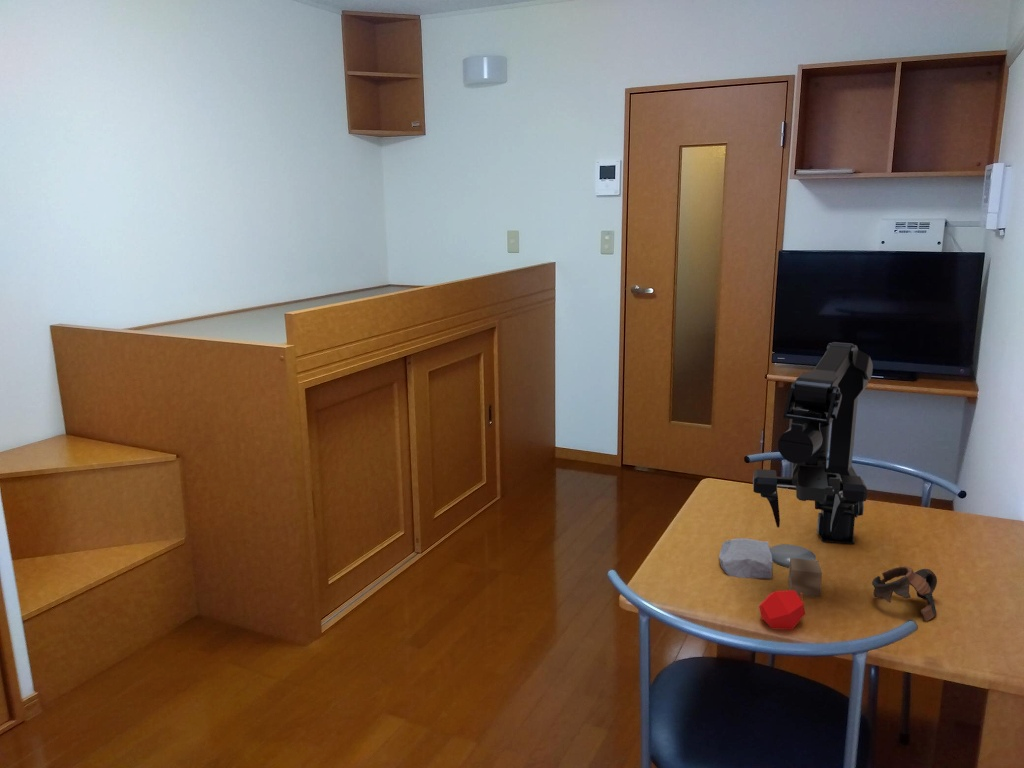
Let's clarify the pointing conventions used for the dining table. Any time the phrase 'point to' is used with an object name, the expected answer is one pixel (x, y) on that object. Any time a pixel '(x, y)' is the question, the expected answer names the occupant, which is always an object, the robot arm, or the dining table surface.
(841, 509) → the robot arm
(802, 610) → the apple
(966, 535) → the dining table surface
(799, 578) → the walnut cube
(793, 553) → the slate coaster
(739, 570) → the stone block
